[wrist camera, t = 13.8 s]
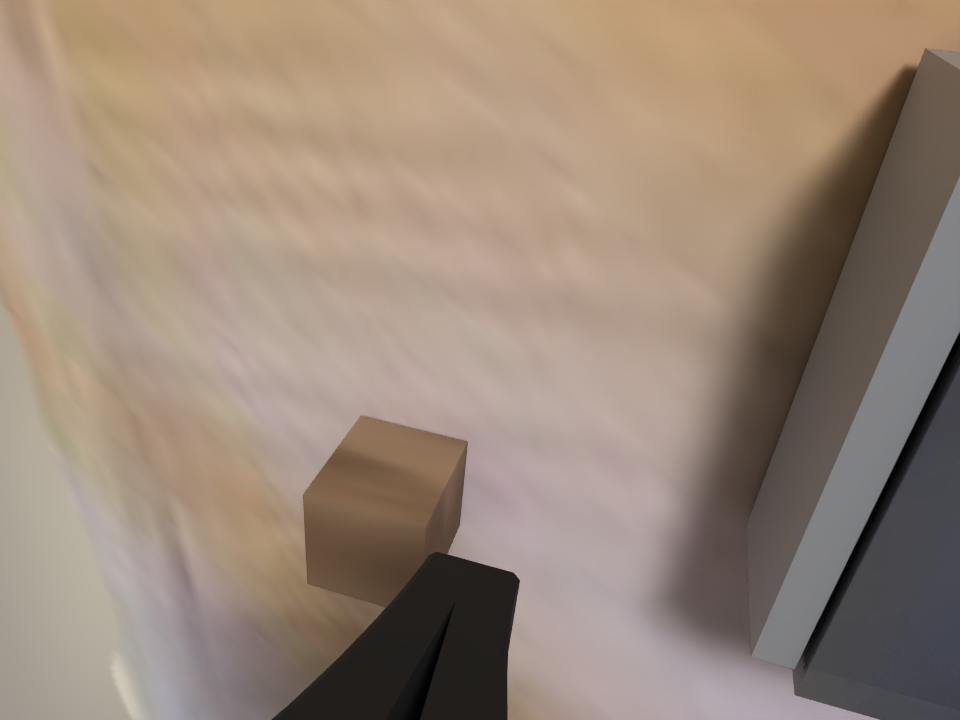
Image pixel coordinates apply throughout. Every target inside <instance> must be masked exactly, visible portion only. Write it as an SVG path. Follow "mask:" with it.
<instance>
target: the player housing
mask: <svg viewBox="0 0 960 720" xmlns="http://www.w3.org/2000/svg"><path fill="white" fill-rule="evenodd" d="M792 671H793V682H794V693H795V695H797V696H800V697H803V698H807V699H810V700H814V701H817V702H821V703H824V704H828V705H831V706H835V707H838V708H842V709H845V710H849V711H852V712H856V713H859V714H863V715H866V716H870V717H873V718H877V719H880V720H960V333H959V335H958V337H957V339H956V341H955V343H954V345H953V347H952V349H951V352H950V354H949V356H948V358H947V360H946V362H945V364H944V366H943V368H942V370H941V372H940V374H939V376H938V378H937V380H936V382H935V384H934V386H933V388H932V390H931V392H930V394H929V396H928V399H927V401H926V403H925V405H924V407H923V409H922V411H921V413H920V415H919V417H918V419H917V421H916V423H915V425H914V427H913V429H912V431H911V433H910V435H909V437H908V439H907V441H906V443H905V445H904V448H903V450H902V452H901V454H900V456H899V458H898V460H897V462H896V464H895V466H894V468H893V470H892V472H891V474H890V476H889V478H888V480H887V482H886V484H885V486H884V488H883V490H882V492H881V494H880V497H879V499H878V501H877V503H876V505H875V507H874V509H873V511H872V513H871V515H870V517H869V519H868V521H867V523H866V525H865V527H864V529H863V531H862V533H861V535H860V537H859V539H858V541H857V543H856V546H855V548H854V550H853V552H852V554H851V556H850V558H849V560H848V562H847V564H846V566H845V568H844V570H843V572H842V574H841V575H840V577H839V579H838V581H837V583H836V585H835V587H834V589H833V592H832V594H831V596H830V598H829V600H828V602H827V604H826V606H825V608H824V610H823V612H822V614H821V616H820V618H819V620H818V622H817V624H816V626H815V628H814V630H813V632H812V634H811V637H810V639H809V641H808V643H807V645H806V647H805V649H804V651H803V653H802V655H801V657H800V659H799V661H798V663H797V665H796V667H795V669H792Z"/></svg>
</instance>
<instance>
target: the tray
mask: <svg viewBox="0 0 960 720" xmlns="http://www.w3.org/2000/svg"><path fill="white" fill-rule="evenodd" d="M959 333H960V53H959V52H951V51H943V50H935V49H927V48H925V51H924V53H923V56H922V59H921V61H920V64H919V67H918V69H917V72H916V75H915V77H914V80H913V83H912V85H911V88H910V91H909V93H908V96H907V99H906V101H905V104H904V107H903V109H902V112H901V115H900V117H899V120H898V123H897V125H896V128H895V131H894V133H893V136H892V139H891V141H890V144H889V147H888V149H887V152H886V155H885V157H884V160H883V163H882V165H881V168H880V171H879V173H878V176H877V179H876V181H875V184H874V187H873V189H872V192H871V195H870V197H869V200H868V203H867V205H866V208H865V211H864V213H863V216H862V219H861V221H860V224H859V227H858V229H857V232H856V235H855V237H854V240H853V243H852V245H851V248H850V251H849V253H848V256H847V259H846V261H845V264H844V267H843V269H842V272H841V275H840V277H839V280H838V283H837V285H836V288H835V291H834V293H833V296H832V299H831V301H830V304H829V307H828V309H827V312H826V315H825V317H824V320H823V323H822V325H821V328H820V331H819V333H818V336H817V339H816V341H815V344H814V347H813V349H812V352H811V355H810V357H809V360H808V363H807V365H806V368H805V371H804V373H803V376H802V379H801V381H800V384H799V387H798V389H797V392H796V395H795V397H794V400H793V403H792V405H791V408H790V411H789V413H788V416H787V419H786V421H785V424H784V427H783V429H782V432H781V435H780V437H779V440H778V443H777V445H776V448H775V451H774V453H773V456H772V459H771V461H770V464H769V467H768V469H767V472H766V475H765V477H764V480H763V483H762V485H761V488H760V491H759V493H758V496H757V499H756V501H755V504H754V507H753V509H752V512H751V515H750V517H749V520H748V523H747V525H746V544H747V570H748V596H749V622H750V648H751V657H752V658H755V659H759V660H763V661H766V662H770V663H773V664H777V665H780V666H784V667H788V668H791V669H795V667H796V665H797V663H798V661H799V659H800V657H801V655H802V653H803V651H804V649H805V647H806V645H807V643H808V641H809V639H810V637H811V634H812V632H813V630H814V628H815V626H816V624H817V622H818V620H819V618H820V616H821V614H822V612H823V610H824V608H825V606H826V604H827V602H828V600H829V598H830V596H831V594H832V592H833V589H834V587H835V585H836V583H837V581H838V579H839V577H840V575H841V574H842V572H843V570H844V568H845V566H846V564H847V562H848V560H849V558H850V556H851V554H852V552H853V550H854V548H855V546H856V543H857V541H858V539H859V537H860V535H861V533H862V531H863V529H864V527H865V525H866V523H867V521H868V519H869V517H870V515H871V513H872V511H873V509H874V507H875V505H876V503H877V501H878V499H879V497H880V494H881V492H882V490H883V488H884V486H885V484H886V482H887V480H888V478H889V476H890V474H891V472H892V470H893V468H894V466H895V464H896V462H897V460H898V458H899V456H900V454H901V452H902V450H903V448H904V445H905V443H906V441H907V439H908V437H909V435H910V433H911V431H912V429H913V427H914V425H915V422H916V420H917V418H918V416H919V414H920V412H921V410H922V408H923V406H924V403H925V401H926V399H927V397H928V395H929V393H930V391H931V389H932V387H933V385H934V383H935V381H936V379H937V377H938V375H939V373H940V371H941V369H942V367H943V365H944V363H945V361H946V359H947V356H948V354H949V352H950V350H951V348H952V346H953V345H954V343H955V341H956V339H957V337H958V335H959Z"/></svg>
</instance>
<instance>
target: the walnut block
mask: <svg viewBox="0 0 960 720" xmlns="http://www.w3.org/2000/svg"><path fill="white" fill-rule="evenodd" d="M467 444H468V442H467V441H463V440H459V439H454V438H450V437H446V436H442V435H438V434H434V433H430V432H426V431H422V430H418V429H414V428H409V427H405V426H401V425H397V424H393V423H389V422H385V421H381V420H377V419H373V418H369V417H365V416H360V418H359V419H358V420H357V422H356V423H355V425H354V426H353V427H352V429H351V430H350V431H349V433H348V434H347V435H346V437H345V438H344V440H343V441H342V442H341V444H340V445H339V446H338V448H337V449H336V450H335V452H334V453H333V455H332V456H331V457H330V459H329V460H328V461H327V463H326V464H325V465H324V467H323V468H322V470H321V471H320V472H319V474H318V475H317V476H316V478H315V479H314V480H313V482H312V483H311V485H310V486H309V487H308V489H307V490H306V491H305V493H304V494H303V505H304V524H305V543H306V562H307V582H308V584H309V585H313V586H316V587H320V588H323V589H326V590H330V591H333V592H337V593H340V594H343V595H347V596H350V597H354V598H357V599H360V600H364V601H367V602H370V603H374V604H377V605H381V606H384V607H387V606H388V605H389V604H390V603H391V602H392V601H393V599H394V598H395V597H396V596H397V595H398V594H399V593H400V591H401V590H402V589H403V588H404V587H405V585H406V584H407V583H408V582H409V581H410V579H411V578H412V577H413V575H414V574H415V573H416V572H417V570H418V569H419V568H420V567H421V565H422V564H423V563H424V561H425V560H426V558H427V557H428V556H429V555H430V554H432V553H435V552H440V553H444V554H447V553H448V551H449V549H450V546H451V544H452V542H453V539H454V537H455V535H456V533H457V530H458V528H459V526H460V516H461V505H462V495H463V485H464V475H465V465H466V454H467Z"/></svg>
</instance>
